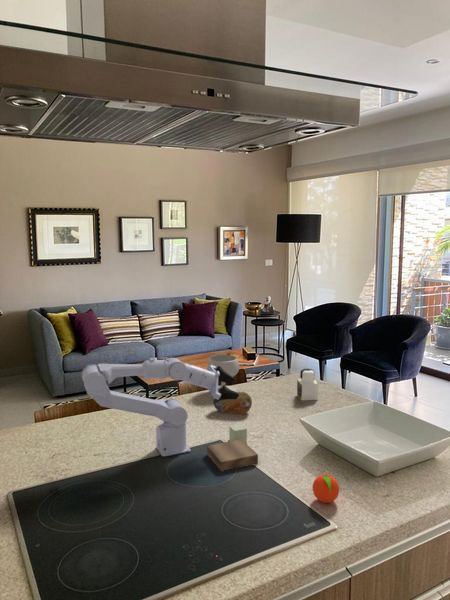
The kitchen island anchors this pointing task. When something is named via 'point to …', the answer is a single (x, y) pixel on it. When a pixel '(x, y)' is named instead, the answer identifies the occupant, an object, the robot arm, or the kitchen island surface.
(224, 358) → the chalice
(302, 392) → the medicine bottle
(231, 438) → the block
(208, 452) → the plinth
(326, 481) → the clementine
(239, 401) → the tin
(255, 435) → the kitchen island surface
